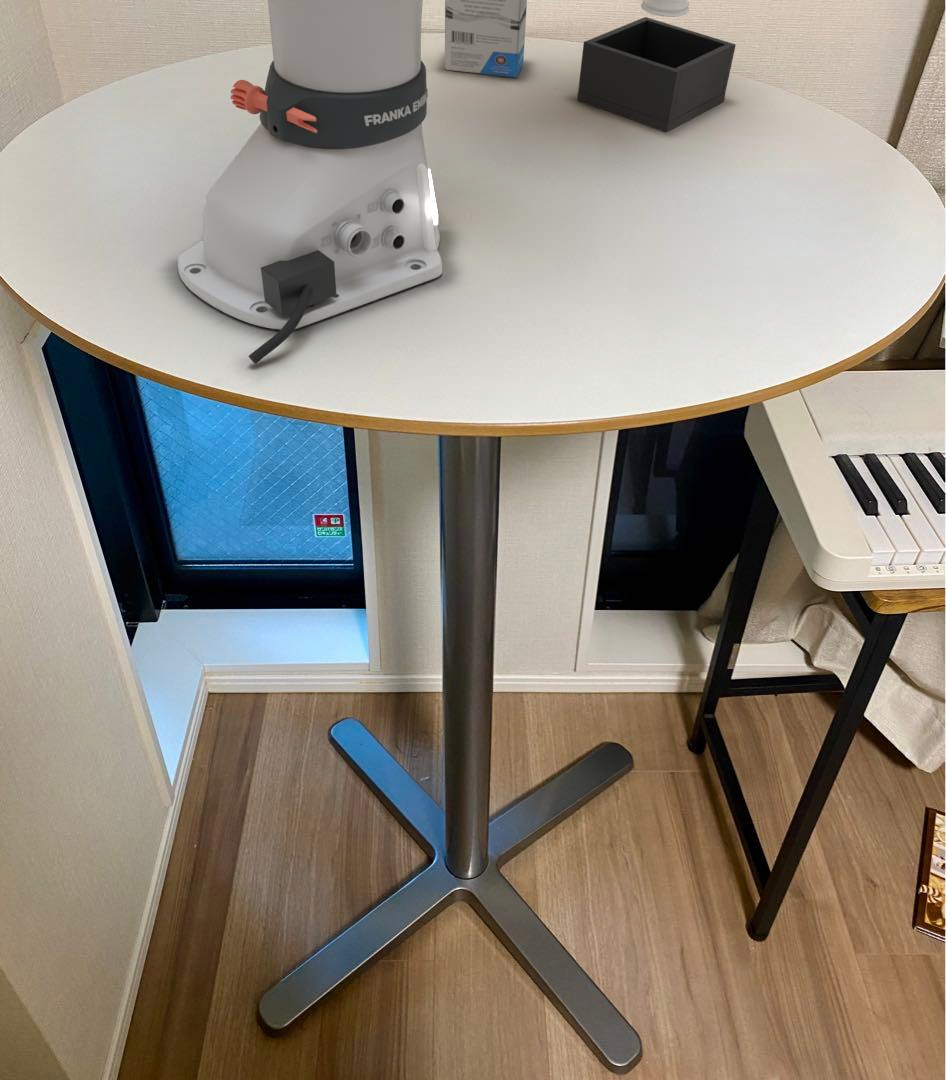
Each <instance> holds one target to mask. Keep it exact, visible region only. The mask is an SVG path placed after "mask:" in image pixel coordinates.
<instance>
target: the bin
mask: <svg viewBox="0 0 946 1080" xmlns="http://www.w3.org/2000/svg"><path fill="white" fill-rule="evenodd" d="M735 51H736V43H733V42H730V41H727V40H723V39H719V38H716V37H713V36H709V35H707V34H703V33H700V32H696V31H693V30H689V29H687V28H683V27H680V26H678V25H677V26H676V25H674V24H670V23H666V22H664V21H660V20H657V19H654V18H650V17H647V16H645V17H642V18H639V19H637V20H634V21H632V22H629V23H627V24H624V25H622V26H620V27H617V28H615V29H613V30H609V31H607V32H605V33H602V34H600V35H598V36H595V37H592V38H589V39H587V40H584V41H583V45H582V52H581V53H582V54H581V64H580V73H579V82H578V91H577V99H576V100H577V101H579V102H582V103H585V104H587V105H591V106H593V107H596V108H597V109H601V110H604V111H607V112H610V113H613V114H616V115H617V116H620V117H623V118H625V119H629V120H632V121H635V122H637V123H640V124H643V125H645V126H648V127H651V128H653V129H656V130H660V131H662V132H665V133H668V132H670V131H672V130H674V129H675V128H677V127H679V126H681V125H683V124H685V123H687V122H689V121H690V120H692V119H694V118H696V117H698V116H700V115H701V114H703V113H706V112H708V110H711V109H712V108H714V107H716V106H718V105H720V104H722V103H724V101H725V97H726V92H727V87H728V83H729V79H730V74H731V69H732V64H733V59H734V55H735Z"/></svg>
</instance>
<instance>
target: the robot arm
mask: <svg viewBox="0 0 946 1080" xmlns="http://www.w3.org/2000/svg"><path fill="white" fill-rule="evenodd" d="M267 7H268V8H267V10H268V17H269V28H270V37H271V48H272V59H273V60H272V61H271V63H270V65H269V69H268V73H267V77H266V82H265V87H264V88H263V87H261V86H260V85H254V84H253V83H251V82H250V81H248V80H246V79H238V80H237V81H236V82H235V83H233V85H232V89H231V90H230V94H232V95H230V100H232V101H231V103H232V105H234V106H235V108H238V109H240V110H242V111H243V110H244V111H247V112H248V113H249V114H251V115H258V114H259V121H260V123H259V125H258V127H257V128H256V129H255V130H254V132H253V133H252V134H251V136H250V137H249V138H248V139H247V141H245V143H244V145H243V147H242V148H241V149H240V150H239V152H238V153H237V154H236V155H235V157H234V158H233V159H232V161H231V162H230V164H229V165H228V166H227V167H226V168H225V170H224V171H223V172H222V174H221V175H220V176H219V178H218V179H216V181H215V183H214V184H212V186H210V189H209V190H208V191H207V193H206V195H205V197H204V201H203V206H202V218H201V219H202V222H201V224H202V225H201V227H202V239H201V240H200V241H198V242H196V243H195V244H194V245H192V246H191V247H189V248H187V249H185V250H184V251H183V252H182V253H180V254H179V255H178V256H177V269H178V275H179V277H180V279H181V281H182V283H183V284H184V285H185V287H187V289H189V290H190V291H191V292H192V293H193V294H194V295H196V296H197V297H198V298H200V299H201V300H202V301H204V302H205V303H207V304H209V305H210V306H211V307H213V308H215V309H217V310H219V311H221V312H222V313H224V314H226V315H228V316H230V317H233V318H234V319H238V320H240V321H243V322H245V323H248V324H250V325H255V326H257V327H262V328H266V329H272V330H278V331H277V332H276V333H275V334H274V335H273V336H272V337H270V338H269V339H268V340H267V341H266V342H264V343H263V344H261V345H260V346H259V347H258V348H256V349H255V350H253V352H251V353H250V354H249V355H248V358H249V359H250V360H251V362H252V363H253V364H254V365H257V364H258V363H259V362H260V361H262V360H263V358H265V357H266V356H267V355H269V354H270V353H271V352H273V351H274V350H275V349H276V348H278V347H279V346H280V345H281V344H283V343H284V342H285V341H286V340H287V339H288V338H289V337H290V336H291V334H292V333H293V332H294V331H295V330H297V329H301V328H304V327H306V326H309V325H311V324H314V323H316V322H317V323H318V322H320V321H323V320H325V319H328V318H330V317H333V316H336V315H338V314H342V313H344V312H347V311H350V310H351V309H355V308H358V307H361V306H363V305H366V304H368V303H371V302H374V301H377V300H380V299H382V298H385V297H387V296H390V295H394V294H397V293H398V292H402V291H404V290H407V289H410V288H412V287H414V286H417V285H421V284H423V283H426V282H428V281H429V282H430V281H432V280H434V279H437V278H439V277H440V276H441V275H442V274H443V263H442V257H441V254H440V251H439V250H438V249H439V246H440V242H441V233H440V229H439V226H438V225H439V213H438V207H437V202H436V196H435V189H434V183H433V178H432V177H433V176H432V173H431V168H429V166H428V161H427V160H428V159H427V154H426V148H425V141H424V132H423V122H424V121H425V119H426V117H427V115H428V102H427V101H428V97H429V90H428V88H427V85H428V84H427V67H426V65H425V63H424V62H423V60H422V50H421V49H422V22H423V21H422V19H423V18H422V16H423V0H267Z"/></svg>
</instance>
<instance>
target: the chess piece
mask: <svg viewBox="0 0 946 1080" xmlns="http://www.w3.org/2000/svg"><path fill="white" fill-rule="evenodd" d="M689 7H690V2H689V0H642V2H641V4H640V8H641V9H642V10H643V11H644V12H646V13H648V14H650V15H654V16H659V17H667V18H675V17H676V18H677V17H682V16H685V15H687V14H689V11H690V9H689Z"/></svg>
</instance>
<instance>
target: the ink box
mask: <svg viewBox="0 0 946 1080" xmlns="http://www.w3.org/2000/svg"><path fill="white" fill-rule="evenodd" d="M527 4H528V0H444V69H445V70H446V71H453V72H454V71H455V72H464V73H472V74H479V75H480V74H482V75H490V76H498V77H508V78H518V76H519V74H520V72H521V70H522V68H523V65H524V56H525V41H526V27H527V26H526V24H527V9H528V7H527Z"/></svg>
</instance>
